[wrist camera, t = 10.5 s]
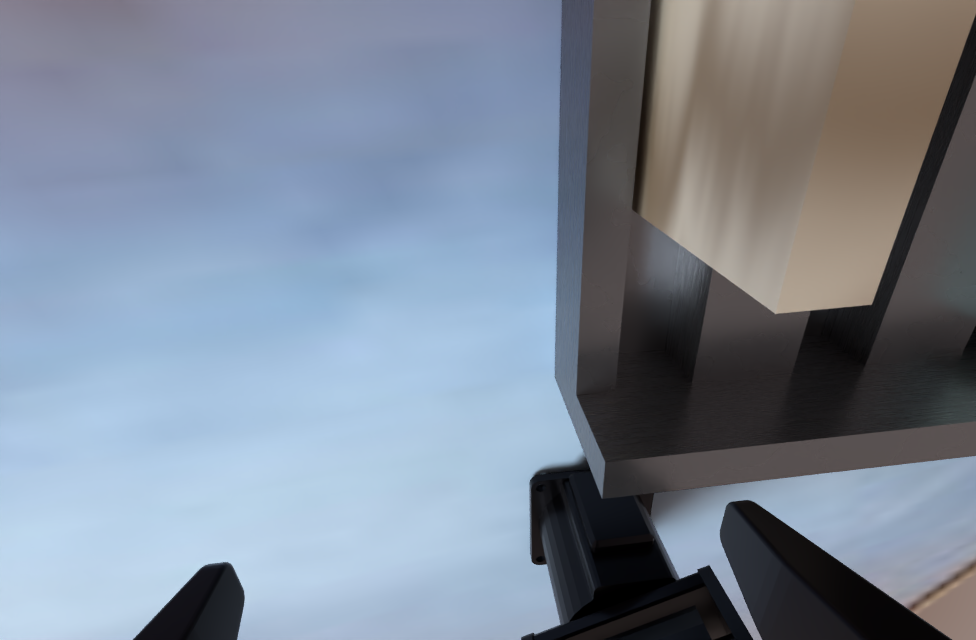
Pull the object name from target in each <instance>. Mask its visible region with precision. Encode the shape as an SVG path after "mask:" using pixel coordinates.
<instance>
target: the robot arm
mask: <svg viewBox="0 0 976 640" xmlns="http://www.w3.org/2000/svg"><path fill="white" fill-rule="evenodd" d="M540 484H542V485H540ZM538 485H540V486H538ZM653 495H654V493H649V494H640V495H632V496H623V497H615V498H606V499H602V497H601V495H600V492H599V490H598V487H597V485H596V482H595V479H594V477H593V474H592V472H591V469H588V470H579V471H570V472H561V473H552V474H543V475H537V476H535V477H533V478H532V479H531V480H530V554H531V559H532V562H533V563H534V564H536V565H544V564H547V567H548V571H549V575H550V580H551V584H552V589H553V593H554V597H555V602H556V606H557V611H558V615H559V619H560V624H561V625H559V626H556V627H553V628H551V629H548V630H546V631H543V632H540V633H538V634H534V633H531V634H528V635H526V636H523V637H521V640H753V638H752V637H751V635H750V633H749V632H748V630H747V628H746V626H745V625H744V623H743V621H742V620H741V618H740V616H739V615H738V613H737V611H736V610H735V608H734V606H733V604H732V603H731V601H730V599H729V598H728V596H727V594H726V593H725V591H724V589H723V588H722V586H721V584H720V582H719V581H718V579H717V577H716V576H715V574H714V572H713V571H712V569H711V567H710V566H709V565H708V566H706V567H703V568H700V569H698V572H697V573H694V574H692V575H689V576H687V577H684V578H681V579H679V576H678V574H677V572H676V570H675V568H674V566H673V564H672V562H671V560H670V558H669V556H668V553H667V551H666V549H665V547H664V545H663V543H662V541H661V539H660V537H659V535H658V533H657V531H656V528H655V526H654V524H653V522H652V520H651V518H650V514H651V508H652V501H653ZM720 539H721V543H722V546H723V548H724V551H725V553H726V556H727V558H728V561H729V563H730V565H731V568H732V570H733V573H734V575H735V577H736V580H737V582H738V585H739V587H740V589H741V592H742V594H743V597H744V599H745V602H746V604H747V606H748V609H749V611H750V614H751V616H752V618H753V621H754V623H755V625H756V627H757V630H758V632H759V634H760V636H761V638H762V640H952V639H950V638H949V637H948V636H946V635H944V634H943V633H942V632H940V631H938V630H937V629H936V628H935V627H933V626H932V625H930V624H929V623H927V622H926V621H924V620H923V619H921V618H920V617H919V616H917V615H916V614H914V613H913V612H912V611H910V610H909V609H907V608H906V607H904V606H903V605H902V604H900V603H899V602H897V601H896V600H894V599H893V598H891V597H890V596H889V595H887V594H886V593H884V592H883V591H881V590H880V589H879V588H877V587H876V586H874V585H873V584H871V583H870V582H868V581H867V580H866V579H864V578H863V577H861V576H860V575H858V574H857V573H856V572H854V571H853V570H851V569H850V568H848V567H847V566H845V565H844V564H843V563H841V562H840V561H838V560H837V559H835V558H834V557H833V556H831V555H830V554H828V553H827V552H825V551H824V550H822V549H821V548H820V547H818V546H817V545H815V544H814V543H812V542H811V541H810V540H808V539H807V538H805V537H804V536H802V535H801V534H799V533H798V532H797V531H795V530H794V529H792V528H791V527H789V526H788V525H787V524H785V523H784V522H782V521H781V520H779V519H778V518H776V517H775V516H774V515H772V514H771V513H769V512H768V511H766V510H765V509H764V508H762V507H761V506H759V505H758V504H756V503H755V502H752V501H749V500H744V501H735V502H730V503H729V504H728V505H727V506H726V510H725V513H724V517H723V521H722V525H721V529H720ZM244 599H245V597H244V590H243V587H242V585H241V583H240V581H239V579H238V577H237V575H236V572H235V570H234V568H233V566H232V565H231V564H230V563H228V562H223V563H215V564H208V565H205V566H203V567H202V568H201V569H200V570H199V571H198V572H197V573H196V574H195V575H194V576H193V577H192V578H191V579H190V580H189V581H188V582H187V583H186V584H185V585H184V586H183V587H182V588H181V589H180V591H179V592H178V593H177V594H176V595H175V596H174V597H173V598H172V599H171V600H170V601H169V602H168V603H167V604H166V605H165V606H164V607H163V608H162V610H161V611H160V612H159V613H158V614H157V615H156V616H155V617H154V618H153V619H152V620H151V621H150V622H149V623H148V624H147V625H146V626H145V627H144V629H143V630H142V631H141V632H140V633H139V634H138V635H137V636H136V637H135V638H134V639H133V640H237V637H238V632H239V627H240V622H241V617H242V612H243V607H244Z"/></svg>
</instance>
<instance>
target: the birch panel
mask: <svg viewBox="0 0 976 640" xmlns="http://www.w3.org/2000/svg"><path fill="white" fill-rule="evenodd" d="M975 15H976V0H651V7H650V18H649V28H648V39H647V50H646V61H645V72H644V83H643V94H642V105H641V116H640V126H639V137H638V148H637V159H636V170H635V181H634V192H633V203H632V210H633V211H634V212H636V213H637V214H639V215H640V216H641V217H643V218H644V219H645V220H647V221H648V222H650V223H651V224H652V225H654V226H655V227H656V228H658V229H659V230H661V231H662V232H663V233H665V234H666V235H667V236H669V237H670V238H672V239H673V240H674V241H676V242H677V243H678V244H680V245H681V246H683V247H684V248H685V249H687V250H688V251H690V252H691V253H692V254H694V255H695V256H696V257H698V258H699V259H701V260H702V261H703V262H705V263H706V264H707V265H709V266H710V267H712V268H713V269H714V270H716V271H717V272H718V273H720V274H721V275H723V276H724V277H725V278H727V279H728V280H729V281H731V282H732V283H734V284H735V285H736V286H738V287H739V288H740V289H742V290H743V291H745V292H746V293H747V294H749V295H750V296H751V297H753V298H754V299H756V300H757V301H758V302H760V303H761V304H762V305H764V306H765V307H767V308H768V309H769V310H771V311H772V312H773V313H775V314H779V313H790V312H800V311H811V310H821V309H831V308H842V307H852V306H863V305H872V303H873V300H874V297H875V294H876V292H877V289H878V286H879V283H880V280H881V278H882V275H883V272H884V269H885V266H886V264H887V261H888V258H889V255H890V252H891V250H892V247H893V244H894V241H895V238H896V236H897V233H898V230H899V227H900V224H901V222H902V219H903V216H904V213H905V210H906V208H907V205H908V202H909V199H910V196H911V194H912V191H913V188H914V185H915V183H916V180H917V177H918V174H919V171H920V169H921V166H922V163H923V160H924V157H925V155H926V152H927V149H928V146H929V143H930V141H931V138H932V135H933V132H934V129H935V127H936V124H937V121H938V118H939V115H940V113H941V110H942V107H943V104H944V101H945V99H946V96H947V93H948V90H949V87H950V85H951V82H952V79H953V76H954V74H955V71H956V68H957V65H958V62H959V60H960V57H961V54H962V51H963V48H964V46H965V43H966V40H967V37H968V34H969V32H970V29H971V26H972V23H973V20H974V18H975Z"/></svg>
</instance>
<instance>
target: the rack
mask: <svg viewBox="0 0 976 640" xmlns="http://www.w3.org/2000/svg"><path fill="white" fill-rule="evenodd" d="M650 7H651V0H562V34H561V85H560V137H559V188H558V240H557V292H556V343H555V379H556V382H557V384H558V387H559V389H560V392H561V394H562V397H563V400H564V402H565V405H566V407H567V410H568V412H569V415H570V418H571V420H572V423H573V425H574V428H575V430H576V433H577V436H578V438H579V441H580V443H581V446H582V449H583V451H584V454H585V456H586V459H587V461H588V464H589V467H590V469H591V472H592V474H593V477H594V479H595V482H596V485H597V487H598V490H599V492H600V495H601V497H602V499H606V498H615V497H623V496H632V495H640V494H649V493H658V492H666V491H675V490H684V489H692V488H701V487H710V486H718V485H727V484H735V483H744V482H753V481H761V480H770V479H779V478H787V477H796V476H804V475H813V474H822V473H830V472H839V471H848V470H856V469H865V468H874V467H882V466H891V465H899V464H908V463H917V462H925V461H934V460H943V459H951V458H960V457H968V456H976V15H975V18H974V20H973V23H972V26H971V29H970V32H969V34H968V37H967V40H966V43H965V46H964V48H963V51H962V54H961V57H960V60H959V62H958V65H957V68H956V71H955V74H954V76H953V79H952V82H951V85H950V87H949V90H948V93H947V96H946V99H945V101H944V104H943V107H942V110H941V113H940V115H939V118H938V121H937V124H936V127H935V129H934V132H933V135H932V138H931V141H930V143H929V146H928V149H927V152H926V155H925V157H924V160H923V163H922V166H921V169H920V171H919V174H918V177H917V180H916V183H915V185H914V188H913V191H912V194H911V196H910V199H909V202H908V205H907V208H906V210H905V213H904V216H903V219H902V222H901V224H900V227H899V230H898V233H897V236H896V238H895V241H894V244H893V247H892V250H891V252H890V255H889V258H888V261H887V264H886V266H885V269H884V272H883V275H882V278H881V280H880V283H879V286H878V289H877V292H876V294H875V297H874V300H873V303H872V305H863V306H852V307H842V308H831V309H821V310H811V311H800V312H790V313H779V314H775V313H773V312H772V311H771V310H769V309H768V308H767V307H765V306H764V305H762V304H761V303H760V302H758V301H757V300H756V299H754V298H753V297H751V296H750V295H749V294H747V293H746V292H745V291H743V290H742V289H740V288H739V287H738V286H736V285H735V284H734V283H732V282H731V281H729V280H728V279H727V278H725V277H724V276H723V275H721V274H720V273H718V272H717V271H716V270H714V269H713V268H712V267H710V266H709V265H707V264H706V263H705V262H703V261H702V260H701V259H699V258H698V257H696V256H695V255H694V254H692V253H691V252H690V251H688V250H687V249H685V248H684V247H683V246H681V245H680V244H678V243H677V242H676V241H674V240H673V239H672V238H670V237H669V236H667V235H666V234H665V233H663V232H662V231H661V230H659V229H658V228H656V227H655V226H654V225H652V224H651V223H650V222H648V221H647V220H645V219H644V218H643V217H641V216H640V215H639V214H637V213H636V212H634V211H633V210H632V203H633V192H634V181H635V170H636V159H637V148H638V137H639V126H640V116H641V105H642V94H643V83H644V72H645V61H646V50H647V39H648V28H649V18H650Z"/></svg>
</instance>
